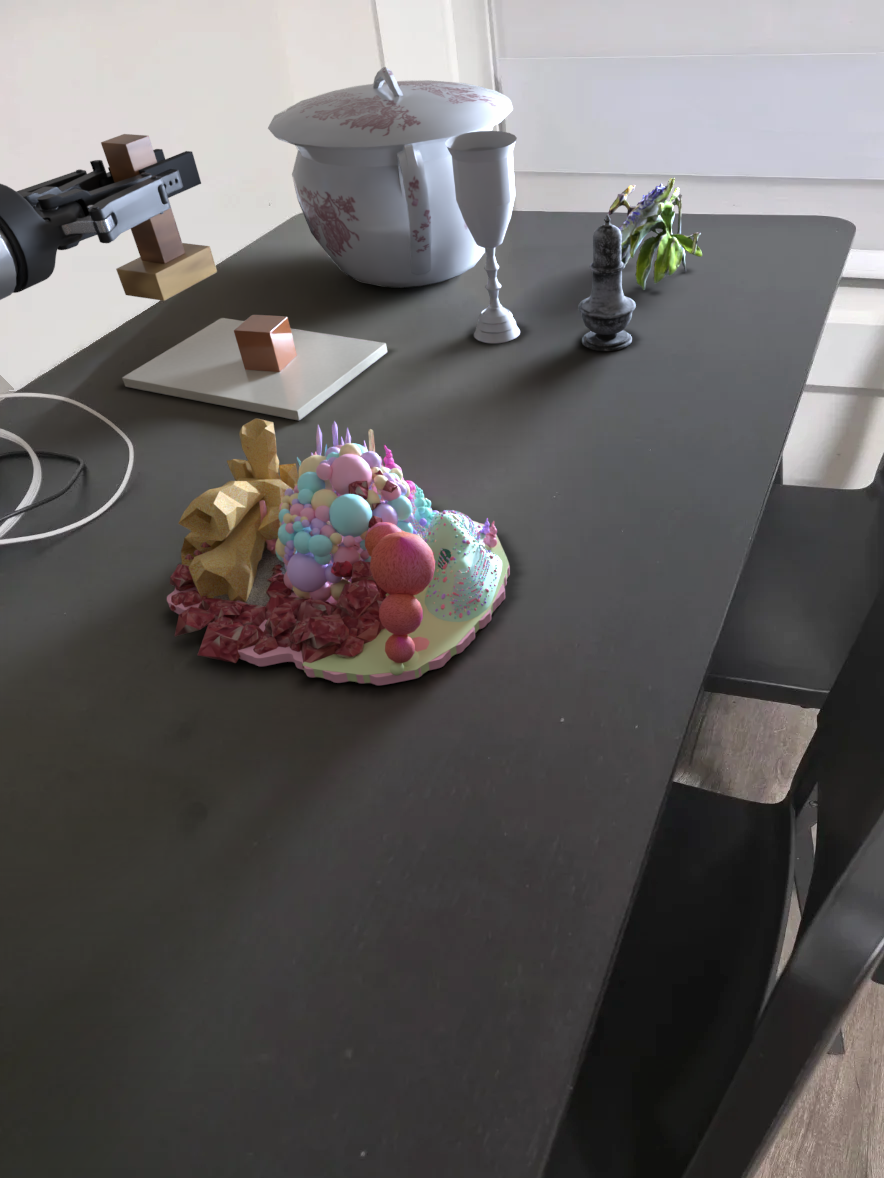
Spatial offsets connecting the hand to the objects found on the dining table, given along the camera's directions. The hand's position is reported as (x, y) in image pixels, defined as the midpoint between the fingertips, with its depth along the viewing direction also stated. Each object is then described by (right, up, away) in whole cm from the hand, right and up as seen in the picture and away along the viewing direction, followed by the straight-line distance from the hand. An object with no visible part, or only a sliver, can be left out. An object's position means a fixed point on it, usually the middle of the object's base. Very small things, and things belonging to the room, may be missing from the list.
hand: (178, 166), depth 87 cm
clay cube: (+7, -17, +6) cm, 19 cm away
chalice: (+30, -12, +10) cm, 34 cm away
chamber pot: (+19, +2, +25) cm, 32 cm away
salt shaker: (+42, -14, +8) cm, 45 cm away
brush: (-2, -10, +3) cm, 11 cm away
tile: (+6, -17, +7) cm, 19 cm away
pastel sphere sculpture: (+21, -43, -19) cm, 51 cm away
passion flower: (+49, 0, +21) cm, 53 cm away
